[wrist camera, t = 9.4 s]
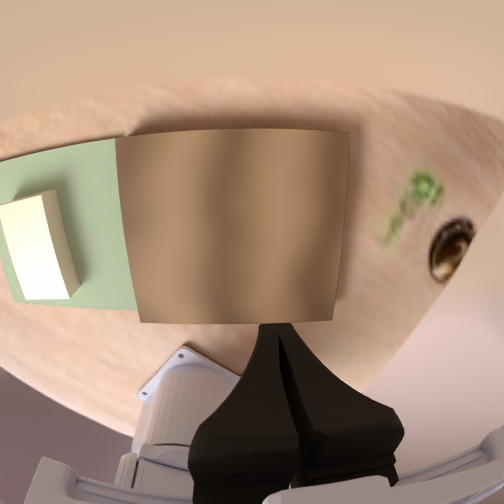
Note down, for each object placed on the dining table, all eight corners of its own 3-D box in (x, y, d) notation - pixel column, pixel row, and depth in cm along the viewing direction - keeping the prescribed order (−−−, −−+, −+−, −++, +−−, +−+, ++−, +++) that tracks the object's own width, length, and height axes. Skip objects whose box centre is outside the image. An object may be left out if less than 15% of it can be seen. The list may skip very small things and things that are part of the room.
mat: (119, 137, 18) (117, 137, 18) (141, 307, 23) (140, 310, 23) (-14, 166, 18) (-17, 166, 17) (16, 300, 23) (14, 302, 22)
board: (339, 132, 18) (349, 132, 17) (325, 305, 23) (332, 320, 22) (126, 137, 18) (114, 138, 16) (147, 308, 23) (140, 322, 21)
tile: (-3, 206, 17) (12, 199, 19) (26, 299, 20) (37, 288, 22) (40, 194, 17) (55, 188, 19) (69, 298, 20) (80, 286, 22)
